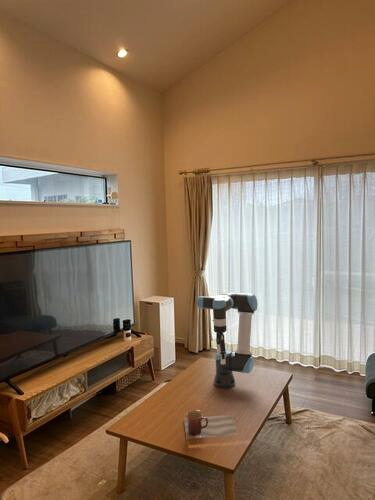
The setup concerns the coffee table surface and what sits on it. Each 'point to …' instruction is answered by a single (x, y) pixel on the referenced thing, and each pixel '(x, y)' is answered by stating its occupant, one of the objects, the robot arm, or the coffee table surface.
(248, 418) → the coffee table surface
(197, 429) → the mug
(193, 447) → the coffee table surface
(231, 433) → the board
